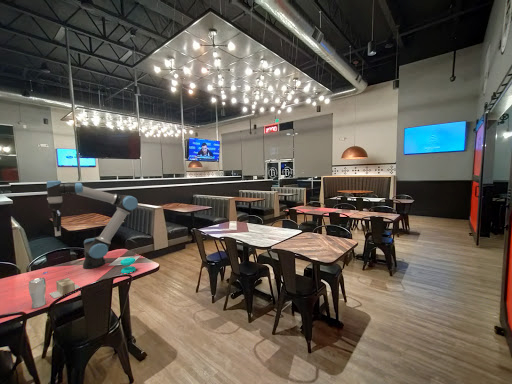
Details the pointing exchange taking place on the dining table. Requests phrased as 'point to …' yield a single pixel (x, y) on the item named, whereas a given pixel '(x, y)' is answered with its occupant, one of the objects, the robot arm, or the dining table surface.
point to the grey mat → (57, 294)
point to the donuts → (130, 268)
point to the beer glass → (37, 292)
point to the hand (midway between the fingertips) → (58, 235)
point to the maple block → (65, 286)
